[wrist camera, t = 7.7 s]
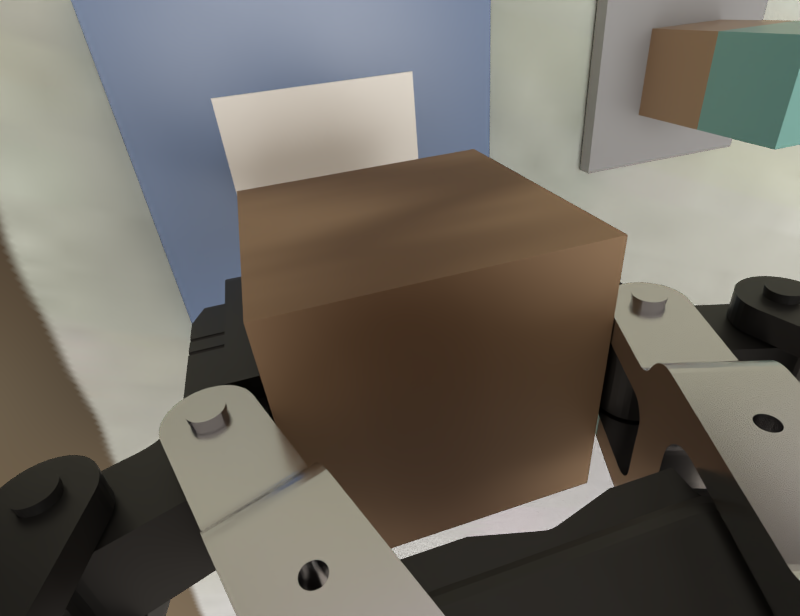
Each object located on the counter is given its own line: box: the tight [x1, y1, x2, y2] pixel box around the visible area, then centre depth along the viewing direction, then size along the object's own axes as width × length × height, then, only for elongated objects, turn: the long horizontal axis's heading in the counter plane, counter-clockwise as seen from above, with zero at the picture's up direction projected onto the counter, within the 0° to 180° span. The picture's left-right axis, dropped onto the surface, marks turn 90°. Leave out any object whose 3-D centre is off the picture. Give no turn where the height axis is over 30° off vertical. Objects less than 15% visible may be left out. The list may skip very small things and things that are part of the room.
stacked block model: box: [580, 0, 800, 173], centre depth 17 cm, size 7×7×7 cm
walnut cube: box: [237, 149, 627, 548], centre depth 9 cm, size 5×5×5 cm
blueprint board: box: [71, 0, 491, 323], centre depth 18 cm, size 12×12×1 cm
